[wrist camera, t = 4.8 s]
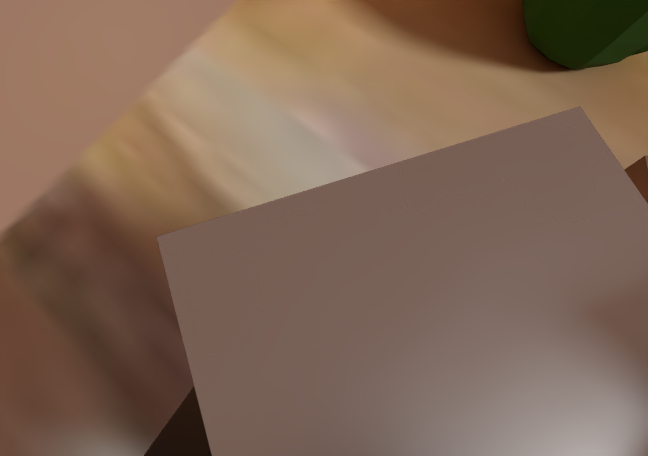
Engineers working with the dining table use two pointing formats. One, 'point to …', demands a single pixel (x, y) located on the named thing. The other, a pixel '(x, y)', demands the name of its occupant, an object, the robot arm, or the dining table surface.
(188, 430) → the robot arm
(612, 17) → the bell pepper
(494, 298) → the plate
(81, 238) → the dining table surface
